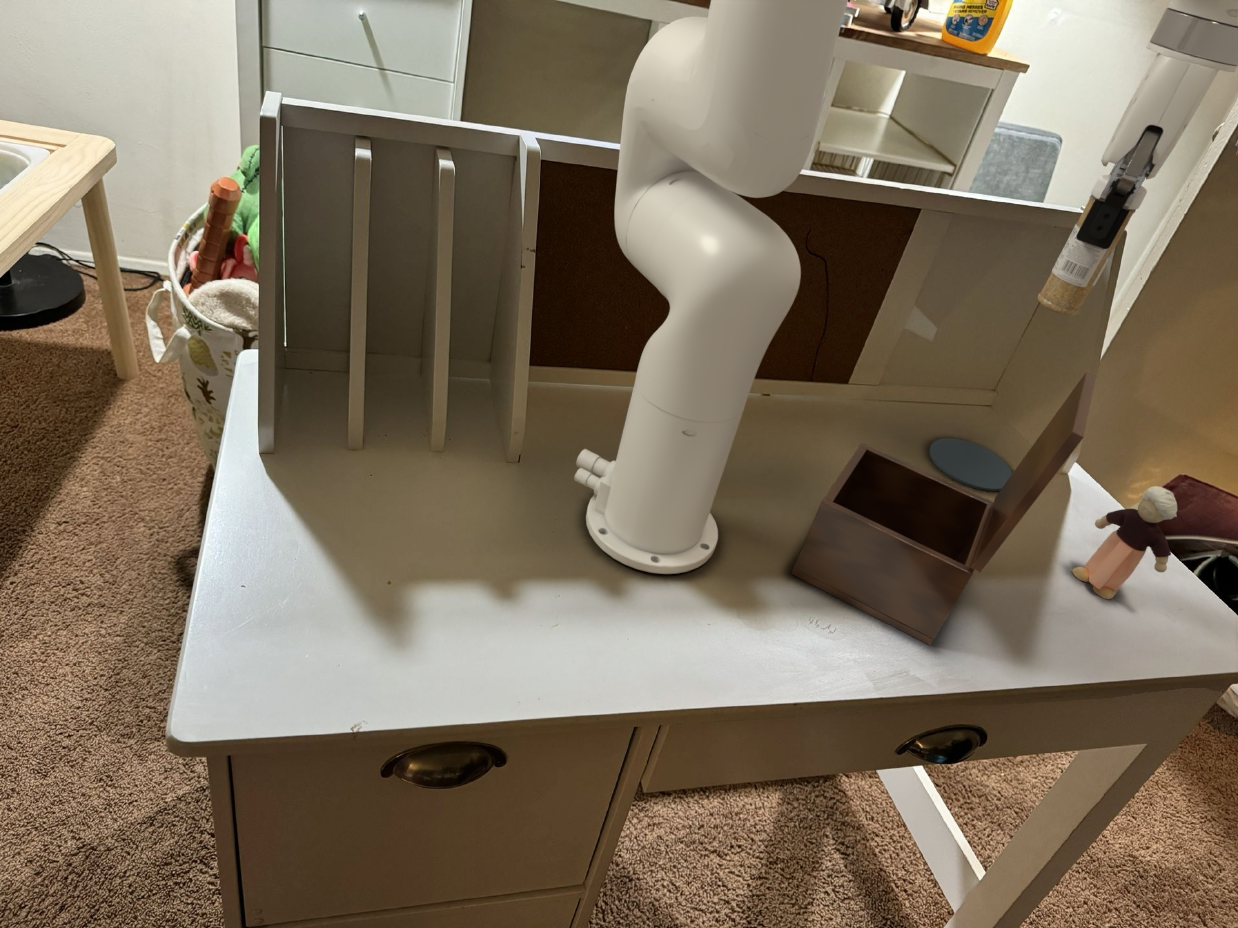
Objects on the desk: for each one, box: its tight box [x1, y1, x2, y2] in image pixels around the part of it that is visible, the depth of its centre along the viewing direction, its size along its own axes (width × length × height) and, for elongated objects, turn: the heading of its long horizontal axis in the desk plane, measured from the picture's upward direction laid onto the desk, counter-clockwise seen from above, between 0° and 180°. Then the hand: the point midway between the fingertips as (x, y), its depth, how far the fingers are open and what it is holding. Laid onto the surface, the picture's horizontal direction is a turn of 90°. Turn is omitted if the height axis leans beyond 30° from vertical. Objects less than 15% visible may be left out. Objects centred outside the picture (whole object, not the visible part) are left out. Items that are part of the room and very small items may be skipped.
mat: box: [928, 437, 1013, 492], centre depth 104 cm, size 10×10×1 cm
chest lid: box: [971, 371, 1097, 573], centre depth 72 cm, size 14×13×1 cm
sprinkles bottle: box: [1037, 174, 1148, 316], centre depth 88 cm, size 5×5×13 cm
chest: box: [791, 442, 994, 646], centre depth 81 cm, size 14×13×9 cm
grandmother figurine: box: [1071, 485, 1178, 600], centre depth 85 cm, size 8×4×13 cm, turn 40°
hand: (1094, 235), depth 87 cm, fingers closed on sprinkles bottle, 4 cm apart
